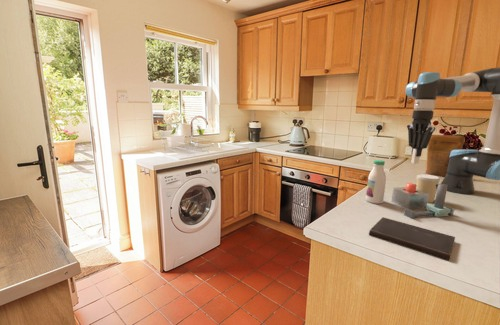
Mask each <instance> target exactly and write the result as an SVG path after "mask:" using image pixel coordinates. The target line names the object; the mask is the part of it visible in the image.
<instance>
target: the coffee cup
mask: <svg viewBox="0 0 500 325" xmlns="http://www.w3.org/2000/svg"><path fill="white" fill-rule="evenodd" d="M415 184H416V185H417V186H416V189H418V190H421V191H423V192H426V193H429V196H428V201H427V203H433V202H435V199H436V193H437V188H438V184H440V176H435V175H429V174H426V173H420V174H417V175H416V183H415Z"/></svg>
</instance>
